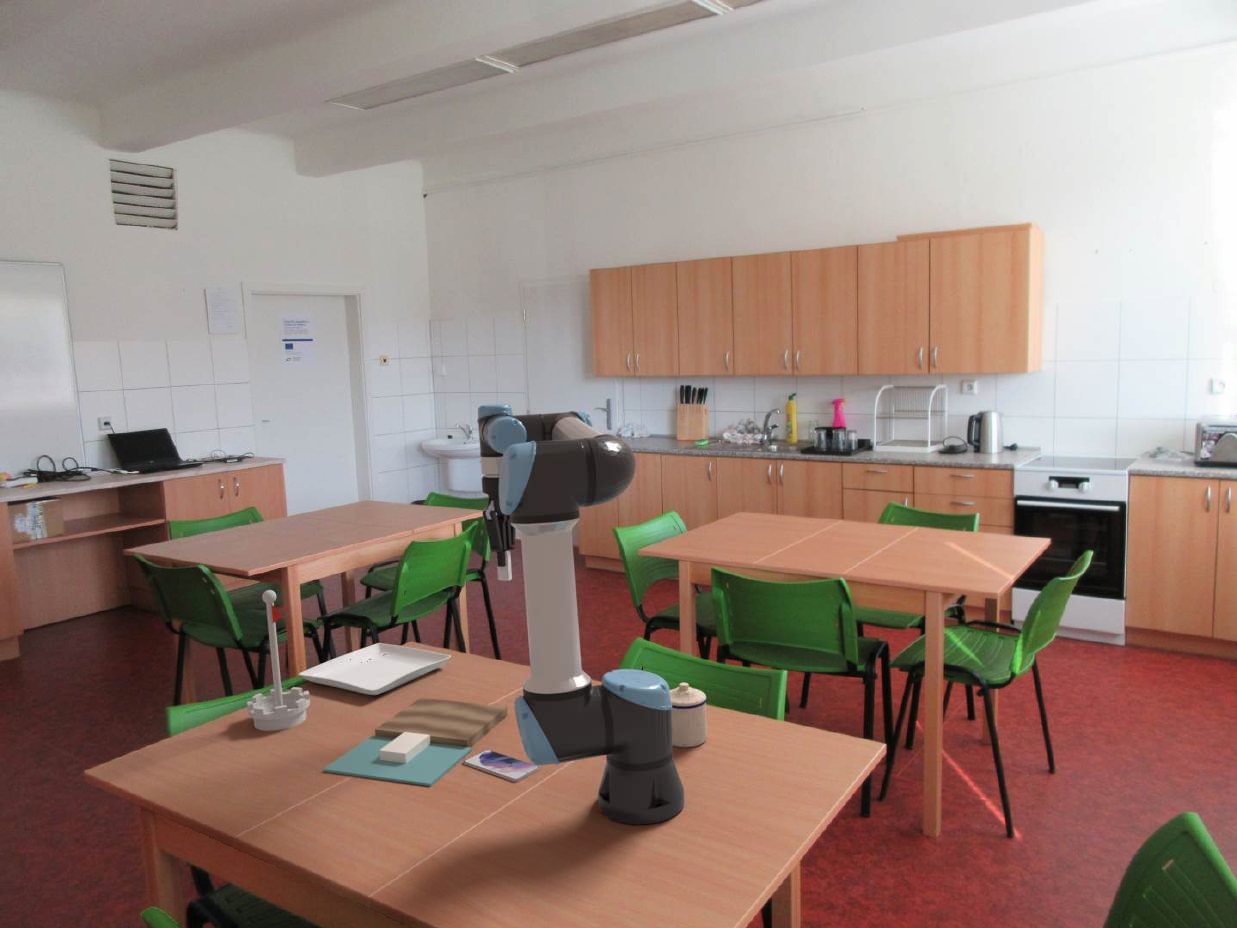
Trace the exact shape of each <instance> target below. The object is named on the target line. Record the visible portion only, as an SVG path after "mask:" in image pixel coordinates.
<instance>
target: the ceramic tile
mask: <svg viewBox="0 0 1237 928" xmlns="http://www.w3.org/2000/svg"><path fill="white" fill-rule="evenodd" d="M430 744H431V743H430V735H426V734H418V733H410V732H404V733H403V734H401V735H400V736H398V737H397V738H396V739H394V740H393V741H391V742H390V743H389V744H387V745H386V746H385V747H383V748H382V749H380V750H379V751H380V760H385V761H393V762H400V763H407V762H409V761H410V760H411V759H412V758H414V757H415V756H416V755H417V754H419V753H420V752H421V751H423V750H424V749H425V748H426V747H428V746H429V745H430Z"/></svg>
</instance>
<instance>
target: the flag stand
mask: <svg viewBox="0 0 1237 928" xmlns="http://www.w3.org/2000/svg"><path fill="white" fill-rule="evenodd" d="M261 598H262V601H263V602H264V603H265V605H266V617H267V626H268V638H269V646H270V647H269V649H270V657H271V658H270V659H271V669H272V678H273V679H272V680H273V681H272V682H273V689H270V690H269V692H270V694H269V695H265V696H264V695H263V693H257V694H255V695H253V696H251V701H247V702H246V705H247V706H246V707H247V708H246V709H247V714H248V716H249V717H250V718H251V719H253V725H254V728H255V729H256V730H259V731H264V732H273V731H274V732H275V731H282V730H287V729H290V728H293V727H296V726H298V725H300V724H302V723H303V722H304V721H305V720H306V719H307V709H308V708H309V706H310V705H311V700H310V691H309V690H304V691H303V687H295V686H293V687H292V688H290V691H287V692H285V691H283V688H282V682H281V679H282V678H281V671H280V659H279V647H278V638H277V637H278V636H277V627H276V626H277V625H276V622H277V621H278V620H279V619H281V618H283V616H282V615H281V613H280V612H279V611H278V610H277V608H276V607H275V606H274V605H275V604H274V602H276V599H277V594H276V592H275V591H274V590H272V589H268V590H265V591H264V592H263V594H262V597H261Z"/></svg>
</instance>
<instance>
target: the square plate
mask: <svg viewBox="0 0 1237 928" xmlns="http://www.w3.org/2000/svg"><path fill="white" fill-rule="evenodd" d="M384 654H386V655H384ZM383 655H384V656H383ZM451 658H452V655H451V654H447V653H446V654H444V653H440V652H435V651H431V650H428V649H427V650H426V649H421V648H414V647H409V646H405V645H404V646H403V645H402V646H401V645H396V644H390V643H382V642H377V643H375V644H372V645H369V646H366V647H363V648H359V649H358V650H355V651H352V652H349V653H346V654H343V655H340V656H338V657H335V658H333V659H330V660H326V661H325V662H323V663H319V664H318V665H315V666H312V667H310V668H308V669H306V670H303V671H302V672H299V673H298V675H297V676H301V677H302V678H303V679H304V680H307V681H309V682H311V683H315V684H319V685H325V686H329V687H333V688H339V689H343V690H346V691H347V690H348V691H352V692H355V693H360V694H365V695H369V696H370V695H371V696H377V695H380V694H384V693H386V692H389V691H392V690H394V689H396V688H397V687H398V688H399V687H400V686H403V685H404V684H406V683H408V682H411V681H412V680H413V681H414V680H416V679H417V678H420V677H422V676H424V675H427V674H428V673H429V672H432V671H434V670H436V669H439V668H441V667H442V666H445V665H446V664H447V662H448V661H449V660H450V659H451ZM350 659H351V660H350ZM369 659H371V660H369ZM367 661H368V662H367ZM361 662H362V663H361Z"/></svg>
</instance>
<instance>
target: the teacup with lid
mask: <svg viewBox="0 0 1237 928" xmlns="http://www.w3.org/2000/svg"><path fill="white" fill-rule="evenodd" d="M670 698H671V703H672V709H671V720H672V747H678V748H692V747H698V746H700V745H702V744H703V743H705V742H706V741H707V738H708V732H707V731H708V730H707V729H708V728H707V701H708V697H707V696H706V693H704V691H702V690H700V689H697V688H693V687H691V686H689V683H687V682H680V683H679V685H678V686H677V687H676V688H673V689H670Z"/></svg>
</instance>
